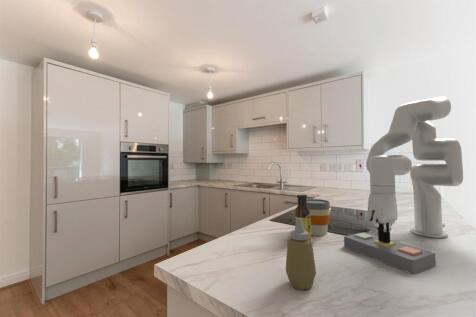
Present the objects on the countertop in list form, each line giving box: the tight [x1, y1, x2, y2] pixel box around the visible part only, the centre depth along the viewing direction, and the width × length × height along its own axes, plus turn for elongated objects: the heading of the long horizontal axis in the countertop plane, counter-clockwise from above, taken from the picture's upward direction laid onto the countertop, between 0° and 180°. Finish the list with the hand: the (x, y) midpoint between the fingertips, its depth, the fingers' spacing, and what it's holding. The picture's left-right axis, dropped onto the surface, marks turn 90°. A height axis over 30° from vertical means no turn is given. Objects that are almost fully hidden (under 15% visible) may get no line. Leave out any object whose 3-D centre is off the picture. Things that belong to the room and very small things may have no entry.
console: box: [343, 231, 437, 275], centre depth 78 cm, size 12×24×4 cm, turn 24°
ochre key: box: [374, 240, 395, 247], centre depth 78 cm, size 4×4×2 cm
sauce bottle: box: [294, 193, 312, 241], centre depth 94 cm, size 7×6×20 cm
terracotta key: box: [398, 246, 422, 256], centre depth 71 cm, size 4×4×2 cm
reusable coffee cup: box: [307, 198, 331, 237], centre depth 104 cm, size 13×13×15 cm
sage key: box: [355, 232, 373, 240], centre depth 85 cm, size 4×4×2 cm
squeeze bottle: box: [285, 218, 317, 291], centre depth 61 cm, size 8×8×18 cm
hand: (384, 241), depth 78 cm, fingers closed
